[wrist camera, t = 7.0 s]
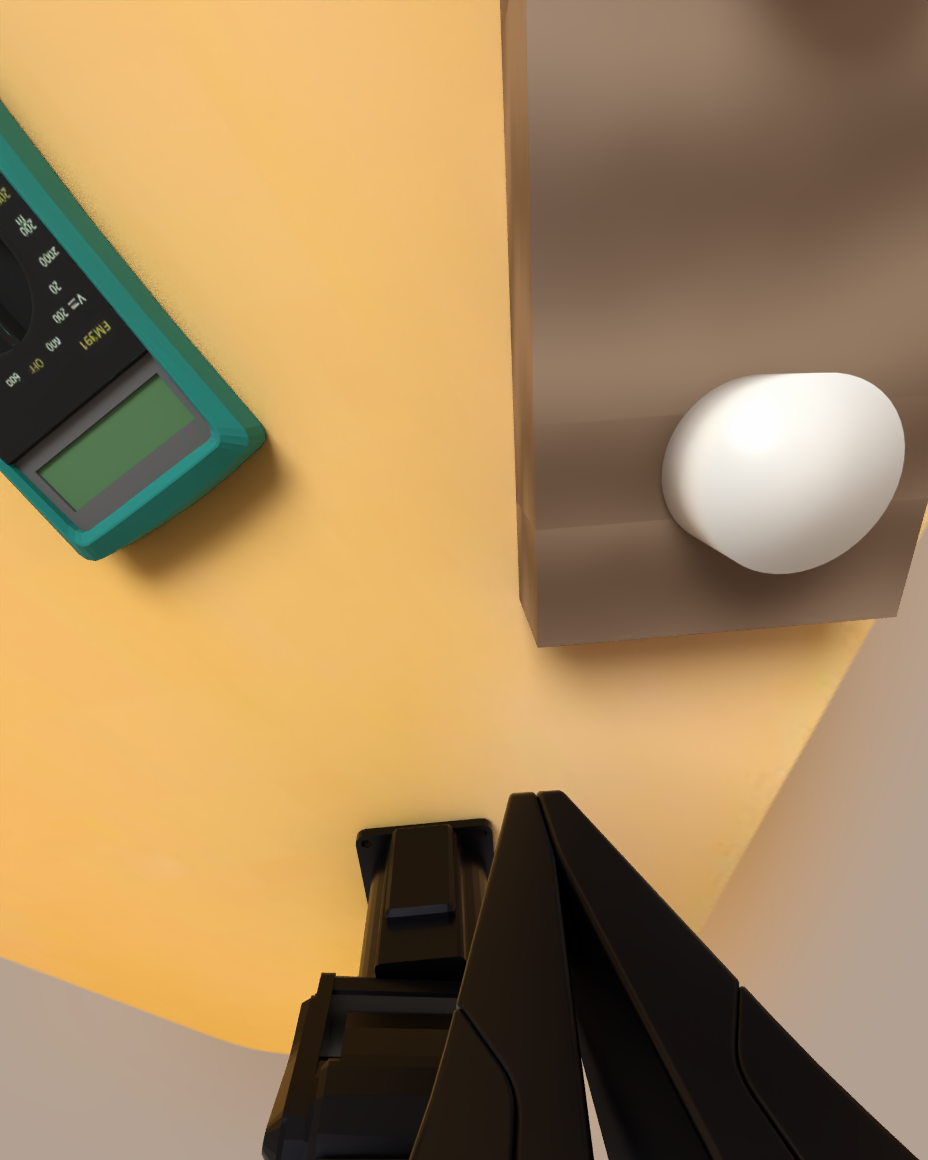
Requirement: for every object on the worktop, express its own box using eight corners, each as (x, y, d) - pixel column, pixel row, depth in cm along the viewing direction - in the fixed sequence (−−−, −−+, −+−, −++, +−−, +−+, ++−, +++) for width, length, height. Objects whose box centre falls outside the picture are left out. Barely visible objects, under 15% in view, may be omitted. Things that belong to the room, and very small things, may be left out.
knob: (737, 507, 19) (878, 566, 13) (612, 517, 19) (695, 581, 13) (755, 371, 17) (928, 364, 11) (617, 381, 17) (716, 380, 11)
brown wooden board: (812, 574, 20) (896, 616, 17) (519, 598, 20) (538, 647, 16) (1004, -393, 12) (1273, -761, 8) (487, -370, 11) (513, -734, 8)
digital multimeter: (-102, -50, 13) (-246, -164, 10) (281, 439, 18) (252, 450, 15) (-266, 141, 14) (-433, 84, 12) (133, 549, 19) (82, 578, 17)
